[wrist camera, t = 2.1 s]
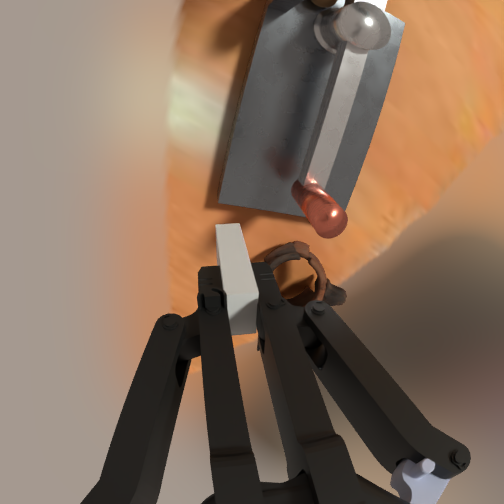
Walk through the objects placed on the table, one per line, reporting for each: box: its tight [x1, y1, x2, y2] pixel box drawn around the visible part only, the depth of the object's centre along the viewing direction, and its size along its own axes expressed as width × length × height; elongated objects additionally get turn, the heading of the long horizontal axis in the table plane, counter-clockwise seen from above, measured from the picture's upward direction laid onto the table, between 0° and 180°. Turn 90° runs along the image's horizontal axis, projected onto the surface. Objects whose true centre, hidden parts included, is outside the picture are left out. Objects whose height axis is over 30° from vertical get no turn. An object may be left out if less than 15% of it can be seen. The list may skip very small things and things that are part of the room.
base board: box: [217, 0, 405, 217], centre depth 23 cm, size 25×14×7 cm, turn 166°
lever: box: [291, 0, 391, 238], centre depth 19 cm, size 22×4×9 cm, turn 166°
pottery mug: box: [264, 241, 347, 307], centre depth 36 cm, size 12×9×8 cm
